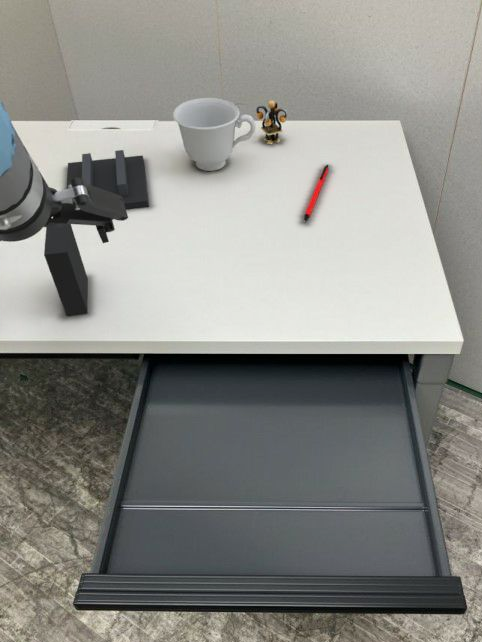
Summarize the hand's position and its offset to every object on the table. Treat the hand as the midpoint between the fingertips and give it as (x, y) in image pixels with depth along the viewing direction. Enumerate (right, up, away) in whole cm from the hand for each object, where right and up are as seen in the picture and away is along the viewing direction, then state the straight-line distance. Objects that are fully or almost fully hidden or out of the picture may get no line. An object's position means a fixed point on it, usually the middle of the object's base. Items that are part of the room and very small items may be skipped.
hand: (47, 245), depth 72 cm
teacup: (+16, +25, +42) cm, 52 cm away
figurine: (+27, +32, +49) cm, 64 cm away
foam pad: (-2, -4, +17) cm, 17 cm away
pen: (+35, +17, +36) cm, 53 cm away
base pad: (-3, +19, +37) cm, 41 cm away
